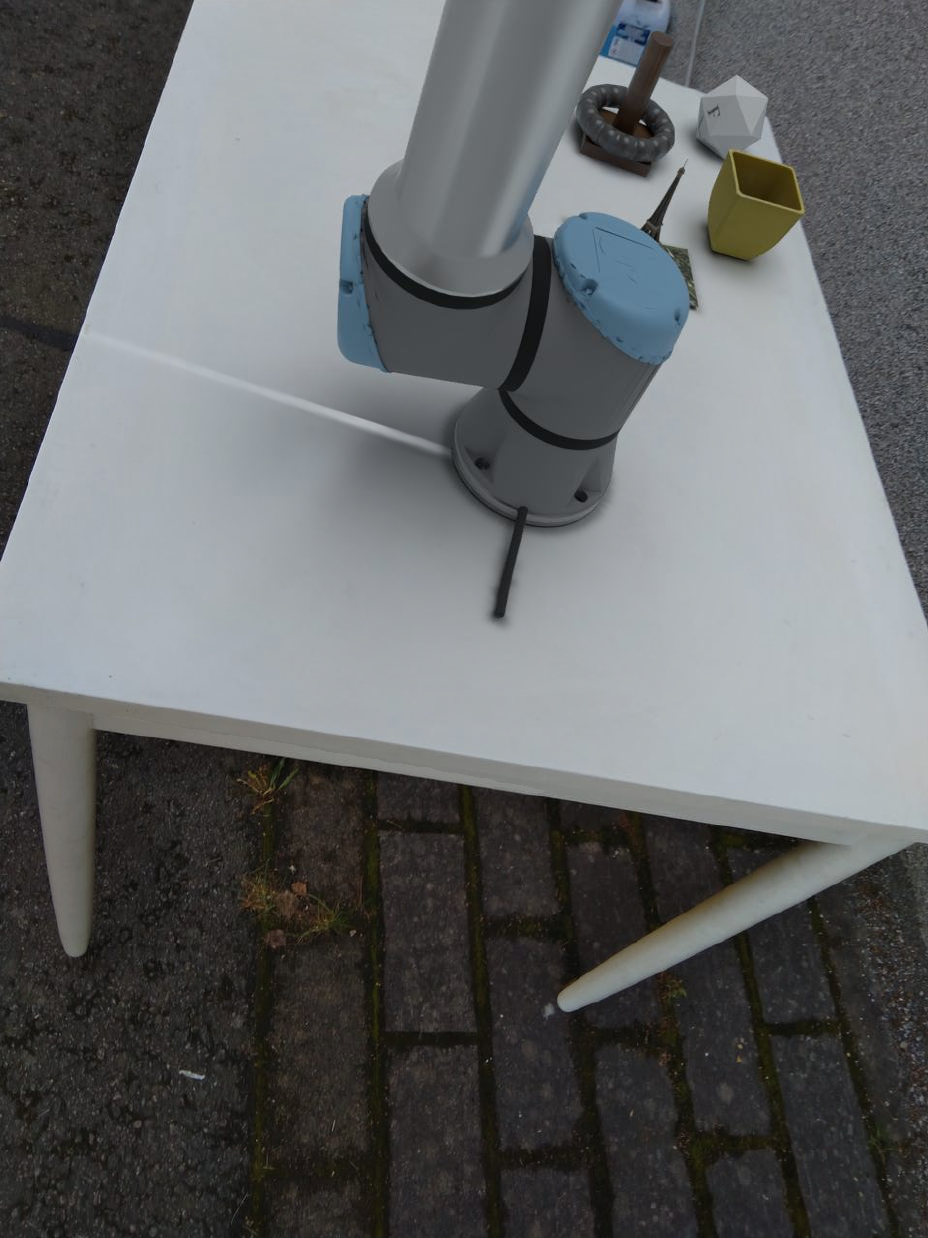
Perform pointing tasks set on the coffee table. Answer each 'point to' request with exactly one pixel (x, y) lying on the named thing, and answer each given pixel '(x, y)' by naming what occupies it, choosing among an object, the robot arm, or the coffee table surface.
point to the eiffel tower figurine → (675, 253)
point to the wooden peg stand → (635, 103)
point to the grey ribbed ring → (616, 139)
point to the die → (731, 116)
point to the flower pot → (752, 205)
